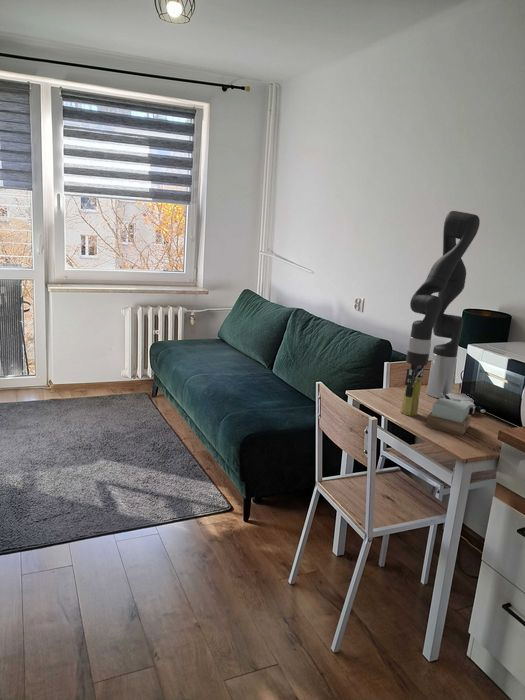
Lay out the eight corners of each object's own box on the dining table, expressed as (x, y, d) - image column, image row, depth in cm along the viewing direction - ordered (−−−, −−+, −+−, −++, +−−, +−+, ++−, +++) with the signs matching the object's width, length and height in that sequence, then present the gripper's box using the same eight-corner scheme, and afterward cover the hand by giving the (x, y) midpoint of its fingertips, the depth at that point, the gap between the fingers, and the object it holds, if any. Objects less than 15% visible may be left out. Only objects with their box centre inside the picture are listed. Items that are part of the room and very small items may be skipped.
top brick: (438, 408, 197) (440, 397, 196) (467, 415, 192) (469, 404, 191) (431, 415, 188) (433, 404, 187) (461, 423, 183) (463, 411, 182)
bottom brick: (434, 417, 199) (436, 406, 198) (469, 426, 193) (471, 415, 192) (425, 426, 189) (427, 415, 188) (462, 435, 183) (464, 424, 182)
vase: (421, 415, 200) (427, 377, 196) (407, 416, 197) (413, 378, 194) (410, 409, 205) (416, 372, 202) (396, 410, 203) (402, 373, 199)
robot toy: (486, 419, 205) (468, 403, 219) (488, 408, 204) (471, 392, 218) (454, 417, 204) (438, 401, 218) (456, 406, 202) (441, 390, 217)
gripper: (424, 355, 188) (416, 401, 192) (434, 349, 200) (427, 392, 204) (402, 351, 192) (395, 396, 195) (413, 345, 204) (407, 387, 208)
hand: (411, 394), depth 200 cm, fingers open, 8 cm apart
